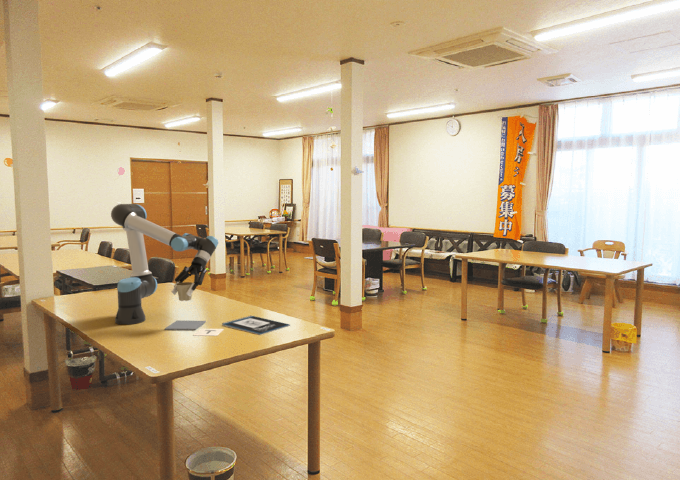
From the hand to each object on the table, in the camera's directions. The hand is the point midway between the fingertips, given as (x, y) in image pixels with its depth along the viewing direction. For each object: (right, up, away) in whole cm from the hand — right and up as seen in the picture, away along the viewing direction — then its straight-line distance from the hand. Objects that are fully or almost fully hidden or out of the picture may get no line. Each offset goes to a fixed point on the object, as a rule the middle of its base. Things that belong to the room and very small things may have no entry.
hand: (180, 294), depth 238 cm
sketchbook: (+38, -18, +6) cm, 42 cm away
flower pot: (+1, -4, +3) cm, 5 cm away
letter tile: (+17, -18, -7) cm, 26 cm away
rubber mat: (+1, -17, +4) cm, 18 cm away
